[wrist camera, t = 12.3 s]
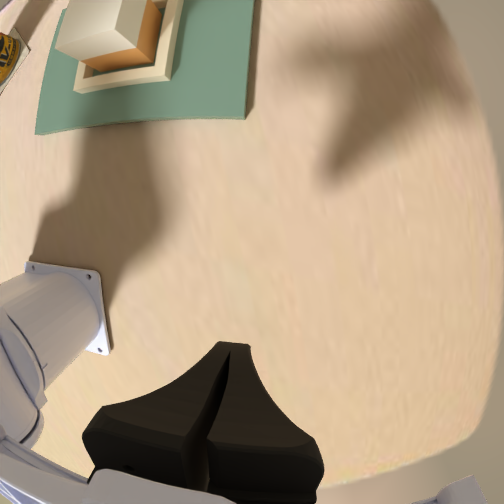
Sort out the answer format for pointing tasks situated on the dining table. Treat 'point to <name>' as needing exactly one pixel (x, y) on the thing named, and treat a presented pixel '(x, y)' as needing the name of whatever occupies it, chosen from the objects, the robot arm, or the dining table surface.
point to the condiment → (10, 55)
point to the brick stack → (110, 32)
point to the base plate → (158, 73)
